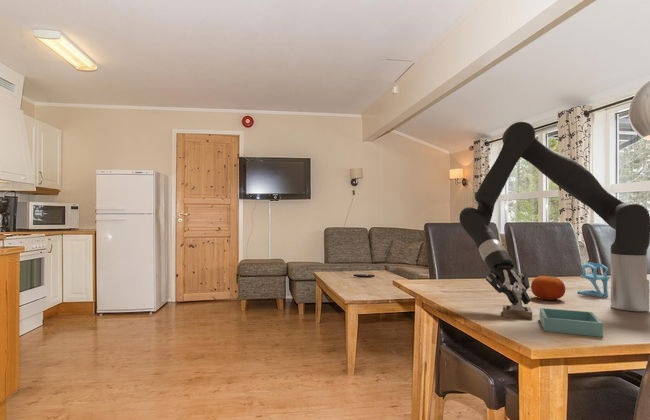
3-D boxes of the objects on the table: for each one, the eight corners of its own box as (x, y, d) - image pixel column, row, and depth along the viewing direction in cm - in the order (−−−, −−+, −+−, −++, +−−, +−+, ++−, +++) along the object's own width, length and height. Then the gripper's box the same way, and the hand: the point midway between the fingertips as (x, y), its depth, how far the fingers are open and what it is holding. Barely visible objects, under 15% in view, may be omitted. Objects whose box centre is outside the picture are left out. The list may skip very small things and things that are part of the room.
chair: (596, 297, 147) (596, 264, 147) (576, 293, 155) (577, 261, 155) (613, 296, 150) (613, 263, 150) (593, 292, 158) (593, 261, 158)
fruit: (526, 298, 145) (526, 276, 145) (537, 295, 152) (537, 273, 152) (559, 303, 137) (559, 279, 137) (569, 299, 144) (569, 276, 144)
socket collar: (530, 313, 123) (530, 306, 123) (532, 319, 116) (532, 312, 116) (502, 311, 126) (502, 304, 126) (503, 316, 119) (503, 309, 119)
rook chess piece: (520, 313, 123) (520, 286, 123) (528, 317, 119) (528, 289, 119) (505, 313, 123) (505, 286, 123) (513, 317, 119) (513, 289, 119)
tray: (591, 324, 111) (591, 311, 111) (602, 336, 100) (602, 323, 100) (539, 319, 116) (539, 307, 116) (544, 330, 105) (544, 317, 105)
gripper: (480, 249, 127) (506, 296, 115) (520, 248, 130) (549, 294, 118) (470, 264, 132) (494, 311, 120) (509, 263, 135) (536, 309, 123)
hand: (521, 302), depth 119 cm, fingers closed on rook chess piece, 3 cm apart
